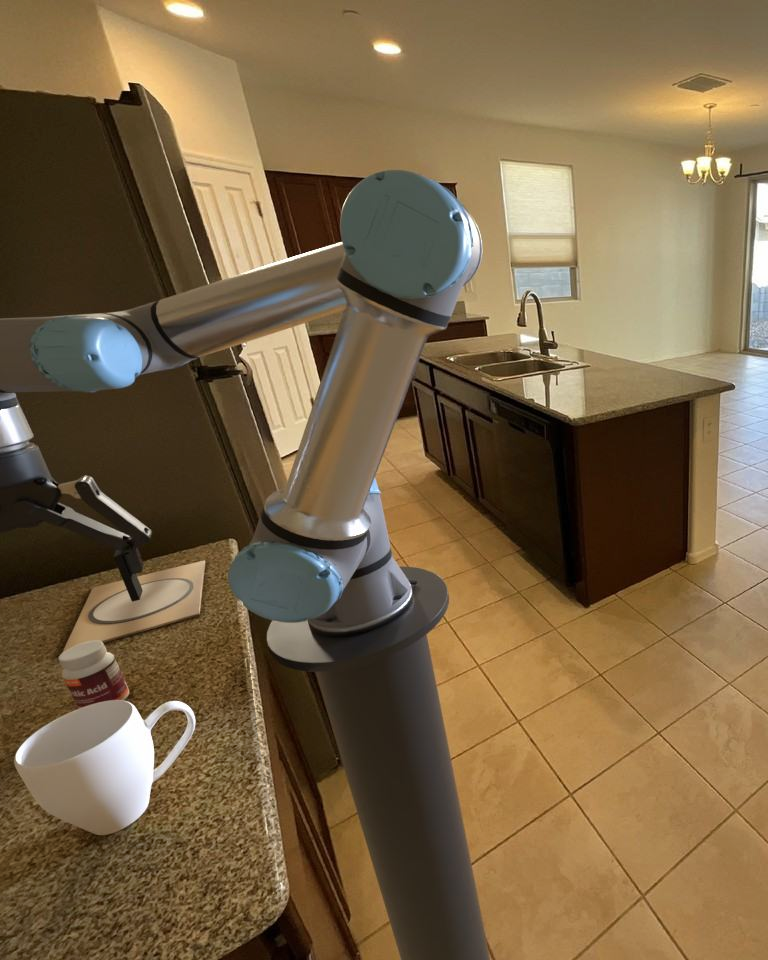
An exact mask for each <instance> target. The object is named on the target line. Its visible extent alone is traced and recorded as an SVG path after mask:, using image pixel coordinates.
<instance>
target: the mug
mask: <svg viewBox="0 0 768 960" xmlns="http://www.w3.org/2000/svg"><path fill="white" fill-rule="evenodd" d="M171 711H180V712H183V713H184V714H185V716H186V719H187V726H186V728H185V730H184V732H183V733H182V735H181V737H180V738H179V739H178V741H177V743H176V744H175V746H174V747H173V748H172V750H171V751H170V752H169V753H168V754H167V756H166V757H165V759H164V760H163V761H162V762H161V763H160V765H158V766H157V767H155V768H154V766H155V747H154V741H153V737H152V733H151V731H152V729H153V728H154V726H155V724H157V722H158V721H159V719H160V718H161V717H163V715H165V714H166V713H168V712H171ZM195 728H196V716H195V714H194V711H193V710H192V708H191V707H190V706H189V705H187V704H186V703H185V702H182V701H178V700H169V701H167V702H164V703H162V704H161V705H159V706H157V708H156V709H154V710H153V711H152V712H151V713H150V714H149V715H148V716H147V717H146V718H145V719H143V718H142V716H141V714H140V713H139V711H138V709H137V707H136V706H135V705H134V704H133V703H132V702H130V701H127V700H124V701H123V700H110V701H104V702H99V703H95V704H91V705H88V706H85V707H82V708H77V709H74V710H72V711H70V712H67V713H65V714H63V715H62V716H59V717H57V718H55V719H54V720H52V721H50V722H48V723H47V724H45V725H43V726H42V727H41V728H39V729H38V730H36V731H35V732H34V733H32V734H31V735H29V737H27V739H26V740H24V742H23V743H22V744H20V746H19V748H18V749H17V750H16V752H15V754H14V757H13V758H14V759H13V764H14V767H15V769H16V772H17V774H18V775H19V776H20V778H21V781H23V783H24V785H25V787H26V788H27V790H28V791H29V793H30V795H31V796H32V798H33V799H34V801H35V802H36V804H38V805H39V806H40V808H41V809H43V810H44V811H45V812H46V813H48V814H50V815H51V816H53V817H55V818H57V819H58V820H61V821H63V822H66V823H68V824H71V826H75V827H77V828H79V829H81V830H83V831H86V832H89V833H91V834H93V835H97V836H107V835H111V834H114V833H117V832H119V831H121V830H123V829H125V828H127V827H128V826H131V824H133V823H134V822H135V821H137V820H138V819H139V818H140V817H141V816H142V815H143V814H144V813H145V812H146V810H147V809H148V807H149V805H150V796H151V790H152V785H153V783H154V782H155V781H157V780H158V779H159V778H161V777H162V776H163V775H164V774H165V773H166V772H167V770H169V768H170V767H171V766H172V764H174V762H175V761H176V759H177V758H178V756H180V754H181V753H182V751H183V750H184V749H185V747H186V746H187V744H188V743H189V741H190V740H191V738H192V736H193V735H194V732H195Z"/></svg>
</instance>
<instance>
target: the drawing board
mask: <svg viewBox="0 0 768 960" xmlns="http://www.w3.org/2000/svg"><path fill="white" fill-rule="evenodd" d="M205 569H206V560H200V561H195V562H191V563H187V564H183V565H180V566H176V567H171V568H167V569H163V570H159V571H155V572H151V573H150V572H149V573H147V574H146V573H145V574H142V575H137V577H138V580H139V582H140V585H141V587H142V590H143V591H142V594H141V598H140V600H137V601H133V602H132V601H131V598H130V596H129V593H128V591H127V589H126V586H125V584H124V581H123V579H121V580H118V581H114V582H109V583H105V584H101V585H97V586H92V588H91V589H90V590H91V591H90V593H89V595H88V597H87V598H86V601H85V603H84V605H83V607H82V610H81V612H80V614H79V616H78V618H77V620H76V622H75V624H74V627H73V629H72V630H71V633H70V635H69V637H68V639H67V641H66V644H65V646H64V648H63V650H62V652H61V654H62V653H63V652H64V651H66V650H67V649H69V648H71V647H73V646H75V645H78V644H81V643H84V642H88V641H95V640H97V641H102V642H103V644H104V643H107V642H111V641H115V640H118V639H121V638H125V637H128V636H132V635H136V634H140V633H143V632H146V631H149V630H153V629H156V628H161V627H164V626H167V625H171V624H174V623H177V622H181V621H184V620H187V619H188V620H189V619H192V618H195V617H198V616H200V615H201V606H202V597H203V588H204V581H205V579H204V578H205Z"/></svg>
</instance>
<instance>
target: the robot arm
mask: <svg viewBox="0 0 768 960" xmlns="http://www.w3.org/2000/svg"><path fill="white" fill-rule="evenodd" d="M341 208H342V209H341V213H340V219H339V233H340V239H341V241H339V242H335V243H333V244H330V245H326V246H323V247H321V248H317V249H314V250H311V251H308V252H305V253H302V254H298V255H295V256H292V257H289V258H286V259H283V260H280V261H277V262H274V263H270V264H267V265H263V266H261V267H258V268H255V269H252V270H249V271H246V272H243V273H239V274H236V275H233V276H230V277H226V278H224V279H221V280H217V281H214V282H212V283H208V284H205V285H202V286H198V287H195V288H192V289H190V290H189V289H188V290H186V291H183V292H180V293H177V294H174V295H171V296H168V297H165V298H161V299H159V300H157V301H152V302H149V303H146V304H142V305H139V306H136V307H134V308H130V309H125V310H121V311H112V312H98V313H97V312H96V313H83V314H70V315H69V314H68V315H55V316H35V317H30V316H29V317H3V318H0V534H3V533H7V532H10V531H13V530H16V529H30V528H36V527H39V526H40V525H41V524H44V523H48V524H50V525H52V526H55V527H61V528H64V529H66V530H69V531H71V532H73V533H75V534H78V535H80V536H82V537H86V538H87V539H89V540H92V541H94V542H97V543H99V544H101V545H104V546H107V547H109V548H111V549H114V550H115V552H114V554H113V559H114V561H115V564H116V567H117V569H118V571H119V574H120V577H121V580H123V581H124V584H125V586H126V589H127V591H128V593H129V596H130V598H131V601H132V602H133V601H137V600H140V598H141V594H142V591H143V590H142V587H141V585H140V582H139V580H138V575H137V574H140V573H142V572H143V569H144V565H145V564H144V561H143V559H142V556H141V553H140V551H139V547H141V546H142V545H147V544H149V543H150V541H151V538H152V536H153V530H152V529H151V528H149V527H148V526H147V525H145V524H144V523H143V522H141V520H139V519H138V518H136V517H135V516H134V515H132V513H129V512H128V511H127V510H126V509H125V508H124V507H122V506H121V505H120V504H118V503H117V502H115V501H114V500H113V499H111V498H110V497H109V496H108V495H106V494H105V493H103V492H102V490H101V489H100V487H99V486H98V484H97V483H96V481H95V480H94V478H93V477H92V476H90V475H87V474H86V475H82V476H81V477H79V478H78V479H76V480H72V481H71V480H70V481H68V482H62V483H58V482H57V481H55V479H54V478H53V477H52V475H51V473H50V470H49V469H48V466H47V464H46V461H45V459H44V457H43V455H42V452H41V449H40V448H39V445H37V444H35V443H33V442H30V440H32V439H33V438H34V434H33V431H32V429H31V427H30V424H29V423H28V420H27V418H26V416H25V413H24V411H23V409H22V407H21V404H20V402H19V399H18V397H17V394H16V393H40V392H43V393H47V392H48V393H51V392H82V393H95V392H99V391H106V390H117V389H118V390H120V389H124V388H126V387H130V386H131V385H133V383H135V380H136V378H138V377H139V376H142V375H145V374H150V373H156V372H159V371H160V372H161V371H163V372H164V371H168V370H172V369H177V368H179V367H182V366H184V365H185V364H187V363H190V362H192V361H194V360H197V359H199V358H202V357H205V356H208V355H211V354H214V353H218V352H220V351H223V350H227V349H231V348H233V347H236V346H239V345H242V344H245V343H248V342H251V341H255V340H258V339H261V338H263V337H267V336H269V335H273V334H276V333H280V332H282V331H285V330H288V329H291V328H294V327H298V326H301V325H304V324H306V323H310V322H312V321H316V320H320V319H323V318H325V317H328V316H331V315H334V314H338V313H340V312H341V313H342V312H343V313H342V315H341V319H340V322H339V325H338V328H337V331H336V334H335V337H334V341H333V343H332V346H331V349H330V352H329V356H328V358H327V361H326V364H325V367H324V371H323V374H322V376H321V380H320V382H319V385H318V388H317V391H316V394H315V397H314V400H313V404H312V407H311V410H310V413H309V415H308V416H309V417H308V419H307V422H306V424H305V428H304V431H303V434H302V437H301V440H300V443H299V445H298V448H297V452H296V455H295V458H294V461H293V464H292V467H291V469H290V473H289V476H288V480H287V482H286V485H285V488H282V489H279V490H277V491H274V492H272V493H271V494H269V495H268V496H267V497H266V499H265V502H264V504H263V506H262V509H261V512H260V516H259V519H258V521H257V525H256V528H255V531H254V533H253V537H252V538H251V541H250V542H249V544H248V545H246V546H245V547H243V548H242V549H240V550H239V551H238V552H237V554H236V555H235V557H234V559H233V561H232V562H231V564H230V566H229V569H228V572H227V581H228V586H229V588H230V591H231V593H232V594H233V596H234V597H235V599H236V600H238V601H240V602H242V606H243V607H245V609H247V610H248V611H250V612H251V613H253V614H255V615H257V616H259V617H261V618H263V619H266V620H270V621H272V620H274V621H278V622H287V623H295V622H304V621H308V624H309V627H310V629H311V630H312V631H313V632H315V633H316V634H318V635H321V636H326V637H349V636H355V635H360V634H364V633H367V632H370V631H373V630H376V629H378V628H381V627H383V626H385V625H387V624H389V623H391V622H392V621H394V620H395V619H397V618H398V617H400V616H401V615H402V614H403V613H404V612H405V611H406V610H407V609H408V608H409V607H410V605H411V603H412V601H413V593H412V588H411V585H416V584H417V580H414V579H407V578H406V576H405V575H404V573H403V572H402V570H401V569H400V567H399V566H400V565H399V564H398V563H397V561H396V560H395V558H394V556H393V552H392V547H391V541H390V536H389V533H388V527H387V522H386V517H385V513H384V507H383V502H382V499H381V495H382V493H381V490H380V489H379V486H378V483H377V479H376V475H377V472H378V470H379V467H380V465H381V462H382V459H383V457H384V454H385V451H386V448H387V446H388V444H389V441H390V438H391V435H392V433H393V430H394V427H395V425H396V422H397V419H398V417H399V414H400V411H401V409H402V407H403V404H404V401H405V398H406V395H407V393H408V390H409V388H410V384H411V382H412V379H413V377H414V374H415V372H416V369H417V366H418V363H419V361H420V359H421V355H422V353H423V350H424V348H425V346H426V343H427V341H428V340H427V339H428V338H429V337H430V336H431V335H433V334H437V333H439V332H442V331H444V330H447V328H448V325H449V323H450V320H451V317H452V315H453V312H454V310H455V307H456V305H457V302H458V300H459V297H460V295H461V292H462V289H463V288H464V287H465V286H466V285H468V283H470V282H471V281H472V280H473V278H474V277H475V275H476V274H477V272H478V271H479V268H480V266H481V262H482V258H483V240H482V235H481V232H480V229H479V225H478V224H477V222H476V220H475V218H474V217H473V215H472V214H471V213H470V212H469V210H468V209H467V208H466V207H465V206H464V205H463V204H462V203H461V201H460V200H459V199H458V198H457V197H456V196H455V195H454V193H452V191H450V189H448V188H447V187H445V186H444V185H441V183H440V182H438V181H436V180H435V179H432V178H429V177H426V176H424V175H422V174H420V173H416V172H414V171H410V170H405V169H404V170H403V169H388V170H383V171H377V172H375V173H373V174H370V175H368V176H366V177H365V178H363V179H362V180H360V181H359V182H358V183H357V184H356V185H355V186H354V187H353V188H352V189H351V191H350V192H349V193H348V194H347V196H346V199H345V201H344V203H343V205H342V207H341ZM63 495H70V496H71V497H72V498H74V499H76V500H82V501H83V502H84V504H86V505H87V506H88V507H89V508H91V509H92V510H94V511H95V512H97V513H98V514H99V515H100V516H102V517H103V518H104V519H106V520H107V521H108V522H109V523H111V524H112V525H114V526H115V527H117V529H119V530H117V529H115V528H113V527H110V526H108V525H106V524H104V523H101V522H99V521H97V520H95V519H92V518H90V517H88V516H86V515H85V514H81V513H79V512H76V511H75V510H74V508H72V507H70V506H68V505H66V504H63V503H60V500H61V498H62V496H63ZM121 531H122V532H121Z"/></svg>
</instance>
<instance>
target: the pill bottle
mask: <svg viewBox="0 0 768 960" xmlns="http://www.w3.org/2000/svg"><path fill="white" fill-rule="evenodd" d="M62 652H63V651H62ZM62 652H61V653H60V654H59V656H58V663H59V664H60V666H61V668H62V671H61V677H62V679H63V682H64V683H65V686H66V687H67V689H68V691H69V693H70V695H71V696H72V699H73V700H74V703H75V705H76V706H77V709H79V708H82V707H85V706H88V705H91V704H95V703H99V702H104V701H110V700H123V701H126V699H127V698H128V697H129V696H130V688H129V687H128V684H127V682H126V680H125V677H124V675H123V673H122V671H121V668H120V667H119V664H118V662H117V660H116V658H115V655H114V654H113V653H112V652H109V651H108V650H107V648H106V645H105V644H104V643H103V642H102V641H97V640H95V641H88V642H84V643H81V644H78V645H75V646H73V647H71V648H69V649H67V650H66V651H64V652H63V653H62Z"/></svg>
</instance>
